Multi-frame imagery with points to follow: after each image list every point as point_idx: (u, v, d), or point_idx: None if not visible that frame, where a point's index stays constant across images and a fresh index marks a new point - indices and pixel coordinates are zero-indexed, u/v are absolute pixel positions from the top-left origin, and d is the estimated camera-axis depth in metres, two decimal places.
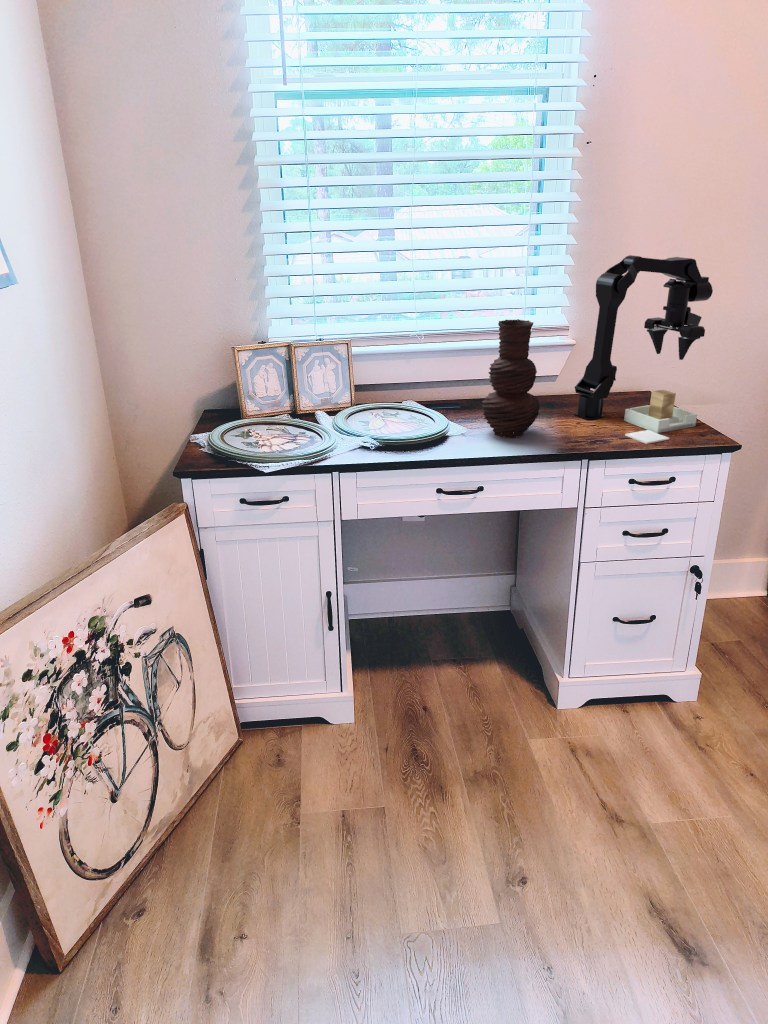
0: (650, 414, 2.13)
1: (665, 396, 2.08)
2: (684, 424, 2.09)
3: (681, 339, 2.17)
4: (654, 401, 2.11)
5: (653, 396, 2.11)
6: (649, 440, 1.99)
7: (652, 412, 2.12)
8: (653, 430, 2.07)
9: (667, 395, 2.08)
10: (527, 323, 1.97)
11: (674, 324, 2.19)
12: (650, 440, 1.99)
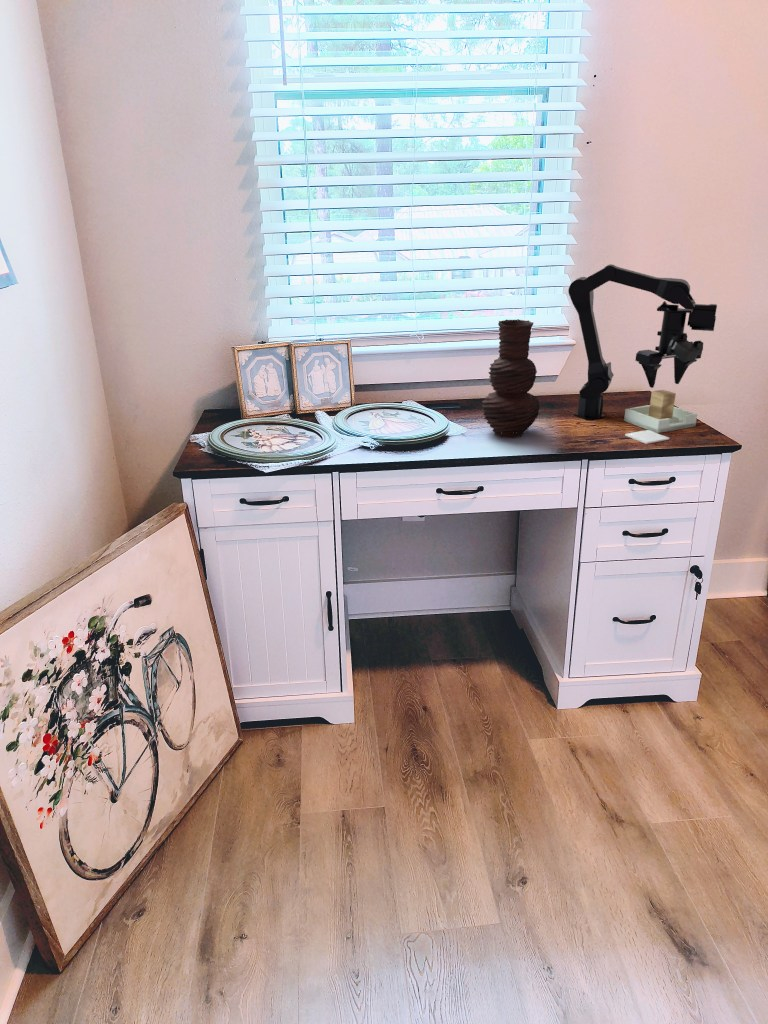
0: (650, 414, 2.13)
1: (665, 396, 2.08)
2: (684, 424, 2.09)
3: None
4: (654, 401, 2.11)
5: (653, 396, 2.11)
6: (649, 440, 1.99)
7: (652, 412, 2.12)
8: (653, 430, 2.07)
9: (667, 395, 2.08)
10: (527, 323, 1.97)
11: (656, 348, 2.06)
12: (650, 440, 1.99)
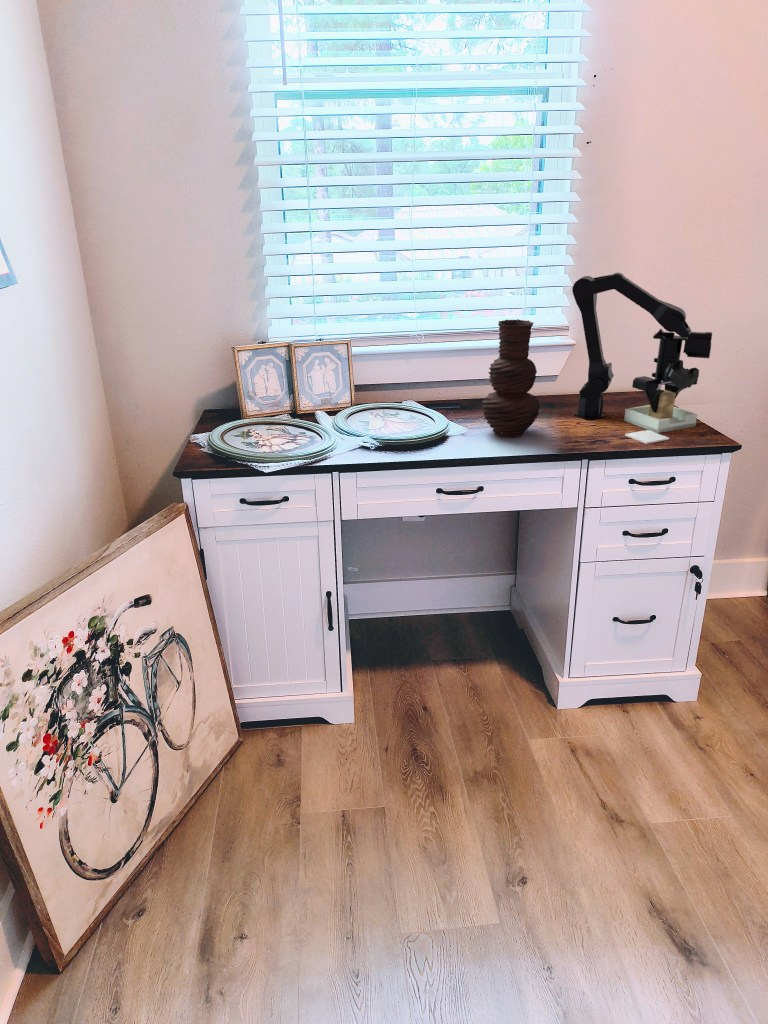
0: (650, 414, 2.13)
1: (665, 396, 2.08)
2: (684, 424, 2.09)
3: None
4: None
5: None
6: (649, 440, 1.99)
7: (652, 412, 2.12)
8: (653, 430, 2.07)
9: (667, 395, 2.08)
10: (527, 323, 1.97)
11: (653, 374, 2.09)
12: (650, 440, 1.99)
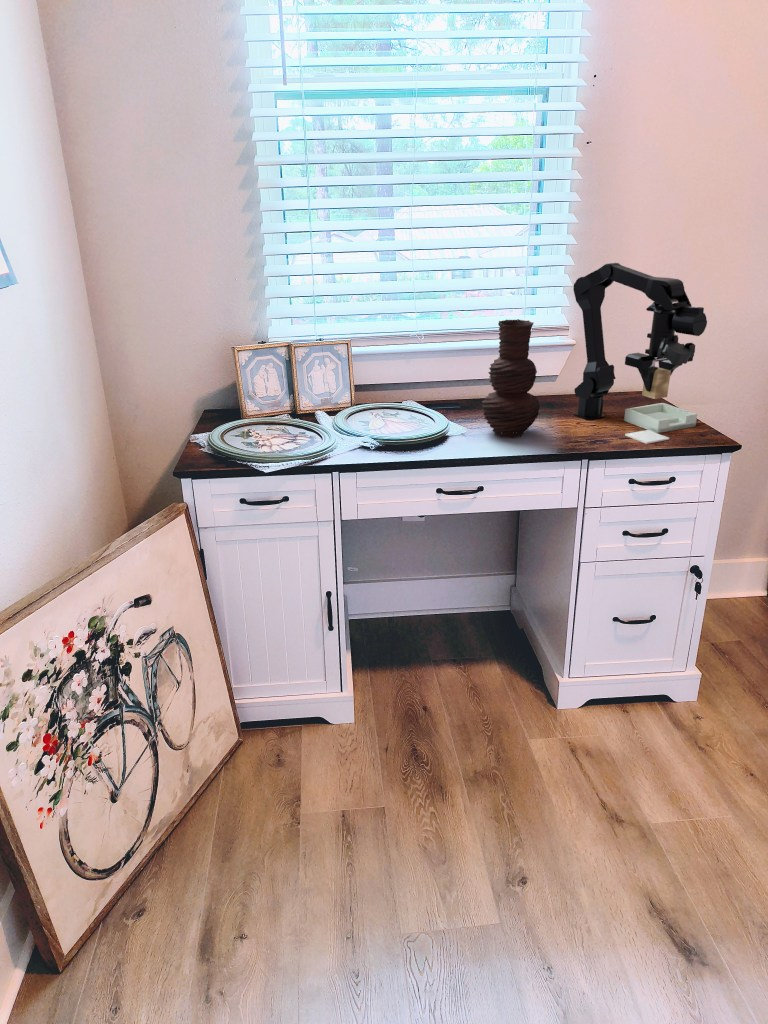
0: (644, 393, 2.01)
1: (660, 374, 1.96)
2: (684, 424, 2.09)
3: None
4: None
5: None
6: (649, 440, 1.99)
7: (646, 391, 2.00)
8: (653, 430, 2.07)
9: (662, 373, 1.96)
10: (527, 323, 1.97)
11: (646, 351, 1.97)
12: (650, 440, 1.99)
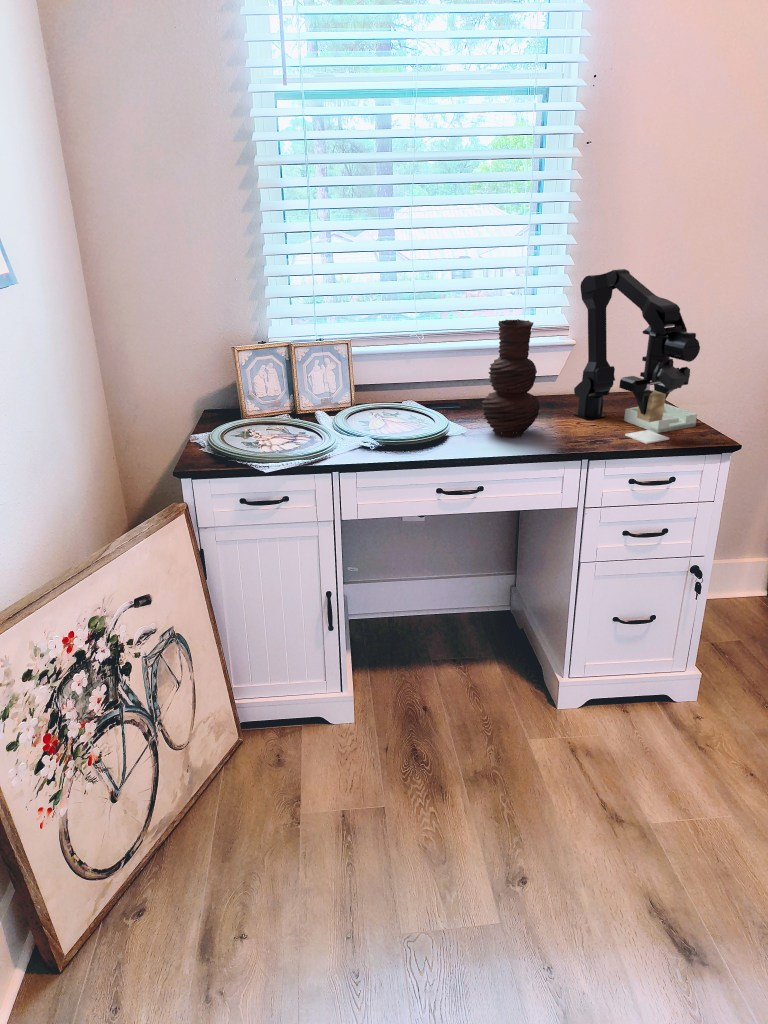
0: (639, 416, 2.01)
1: (654, 397, 1.95)
2: (684, 424, 2.09)
3: None
4: None
5: None
6: (649, 440, 1.99)
7: (641, 414, 2.00)
8: (653, 430, 2.07)
9: (656, 396, 1.96)
10: (527, 323, 1.97)
11: (641, 374, 1.97)
12: (650, 440, 1.99)
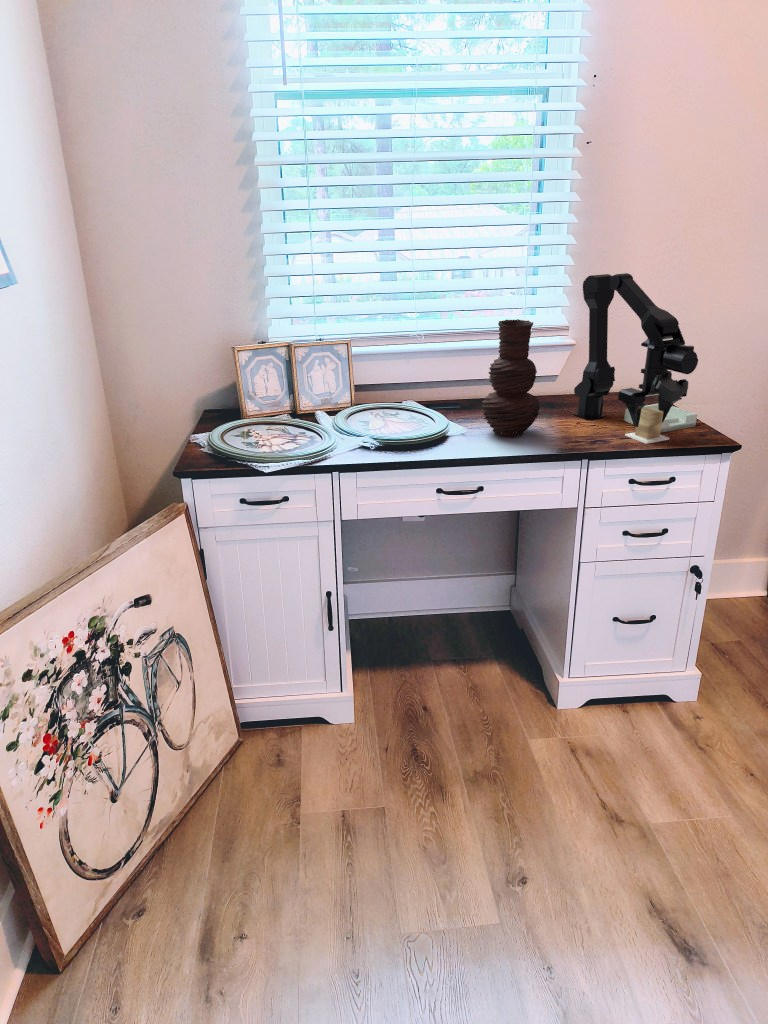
0: (636, 433, 2.03)
1: (652, 415, 1.97)
2: (684, 424, 2.09)
3: None
4: (640, 420, 2.00)
5: None
6: (649, 440, 1.99)
7: (639, 431, 2.02)
8: None
9: (654, 414, 1.98)
10: (527, 323, 1.97)
11: (640, 386, 1.98)
12: (650, 440, 1.99)
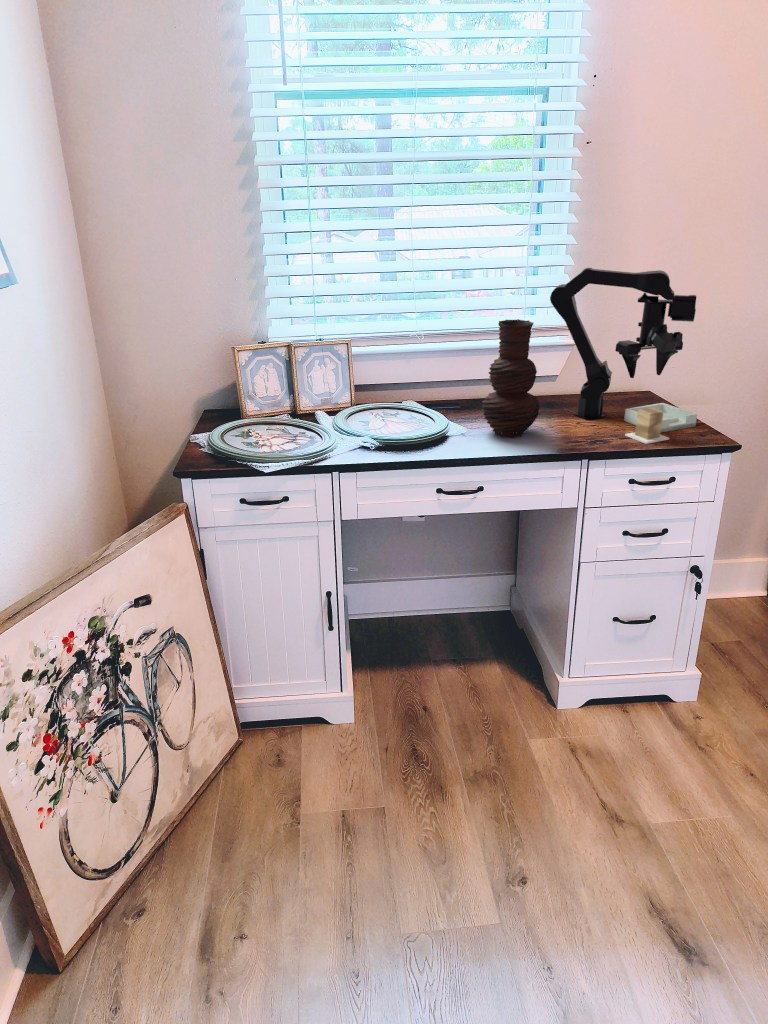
0: (636, 433, 2.03)
1: (652, 415, 1.97)
2: (684, 424, 2.09)
3: None
4: (640, 420, 2.00)
5: (639, 415, 2.00)
6: (649, 440, 1.99)
7: (639, 431, 2.02)
8: None
9: (654, 414, 1.98)
10: (527, 323, 1.97)
11: (637, 339, 2.09)
12: (650, 440, 1.99)
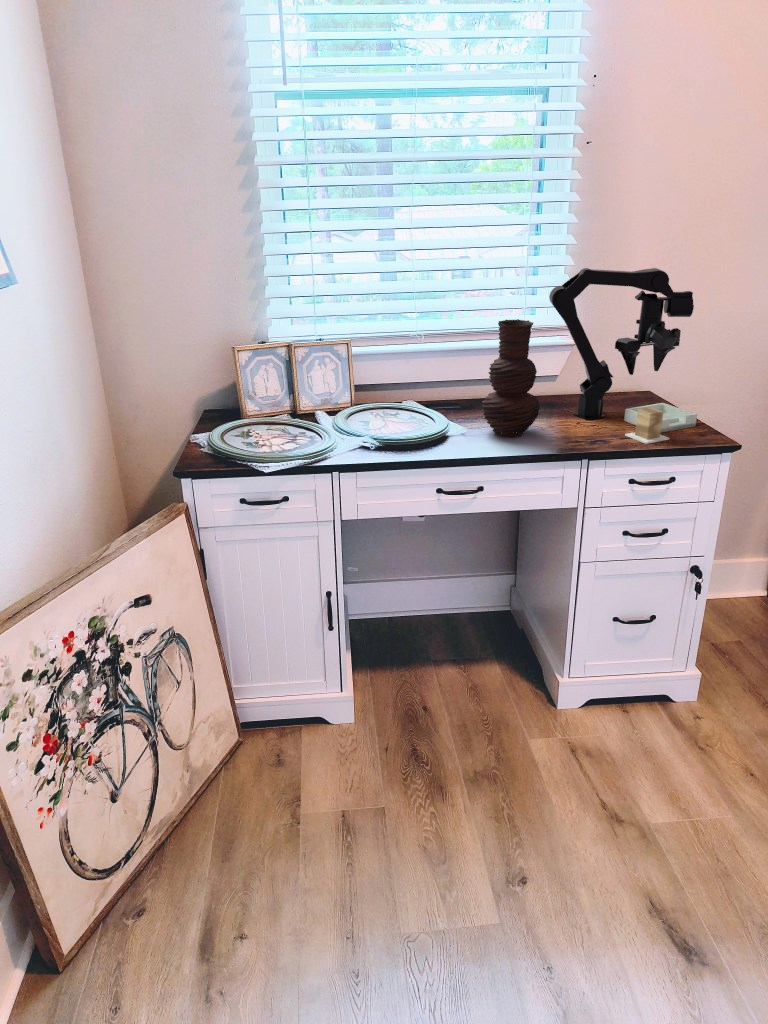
0: (636, 433, 2.03)
1: (652, 415, 1.97)
2: (684, 424, 2.09)
3: None
4: (640, 420, 2.00)
5: (639, 415, 2.00)
6: (649, 440, 1.99)
7: (639, 431, 2.02)
8: None
9: (654, 414, 1.98)
10: (527, 323, 1.97)
11: (635, 336, 2.11)
12: (650, 440, 1.99)
